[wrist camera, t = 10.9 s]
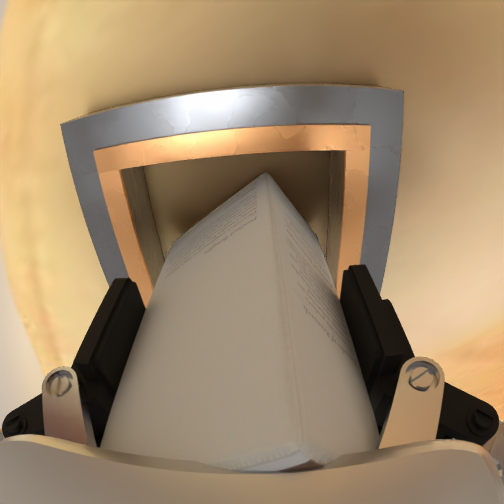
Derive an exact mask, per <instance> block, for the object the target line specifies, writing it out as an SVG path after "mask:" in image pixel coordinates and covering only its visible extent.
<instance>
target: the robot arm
mask: <svg viewBox="0 0 504 504" xmlns="http://www.w3.org/2000/svg"><path fill="white" fill-rule="evenodd" d="M340 303H341V306H342V310H343V313H344V316H345V319H346V322H347V325H348V329H349V332H350V335H351V338H352V341H353V345H354V348H355V351H356V354H357V358H358V361H359V365H360V368H361V372H362V375H363V379H364V382H365V385H366V389H367V392H368V395H369V399H370V402H371V405H372V409H373V412H374V416H375V420H376V423H377V427H378V432H379V436H380V437H379V440H378V443H377V446H376V449H375V450H371V451H365V452H359V453H352V454H346V455H341V456H340V457H339V458H337V459H336V460H334V461H332V462H330V463H328V464H326V465H324V466H321V467H317V468H309V469H299V470H288V471H273V472H242V471H233V470H227V469H223V468H219V467H214V466H210V465H206V464H203V463H200V462H198V461H190V460H178V459H168V458H159V457H151V456H144V455H137V454H130V453H124V452H119V451H113V450H108V449H103V448H100V445H101V442H102V438H103V435H104V431H105V428H106V424H107V421H108V418H109V414H110V411H111V408H112V405H113V402H114V398H115V395H116V392H117V389H118V386H119V384H120V381H121V378H122V374H123V371H124V369H125V366H126V363H127V360H128V357H129V354H130V351H131V349H132V346H133V343H134V340H135V337H136V335H137V332H138V329H139V327H140V324H141V321H142V318H143V316H144V313H145V310H146V308H145V305H144V303H143V300H142V297H141V295H140V292H139V289H138V286H137V284H136V282H134V281H133V282H132V280H131V279H130V278H116V279H114V280H113V282H112V284H111V286H110V288H109V290H108V292H107V293H106V295H105V297H104V299H103V301H102V303H101V305H100V307H99V309H98V311H97V313H96V315H95V317H94V319H93V321H92V323H91V325H90V327H89V329H88V331H87V333H86V335H85V337H84V340H83V342H82V344H81V346H80V348H79V350H78V353H77V355H76V357H75V359H74V361H73V365H72V367H71V368H69V367H64V366H63V367H58V368H56V369H53V370H52V371H51V372H49V373H48V374H47V376H46V377H45V379H44V381H43V384H42V393H41V394H40V395H38V396H37V397H35V398H33V399H31V400H30V401H28V402H27V403H25V404H23V405H21V406H20V407H18V408H16V409H15V410H13V411H12V412H10V413H9V414H8V415H7V416H6V418H5V419H4V421H3V425H2V429H1V428H0V504H504V421H503V422H501V421H499V417H498V414H497V412H496V410H495V409H494V408H493V406H491V405H490V404H488V403H486V402H484V401H482V400H480V399H478V398H476V397H474V396H472V395H470V394H468V393H466V392H464V391H462V390H460V389H458V388H456V387H454V386H452V385H450V384H448V383H446V382H445V377H444V372H443V370H442V368H441V367H440V365H439V364H438V363H436V362H435V361H434V360H432V359H429V358H427V357H415V356H414V353H413V351H412V349H411V346H410V344H409V341H408V339H407V337H406V334H405V332H404V330H403V328H402V325H401V323H400V321H399V319H398V316H397V314H396V312H395V310H394V308H393V306H392V304H391V302H390V300H388V299H385V300H382V299H381V296H380V294H379V292H378V290H377V288H376V285H375V283H374V281H373V279H372V277H371V275H370V273H369V270H368V268H367V266H366V265H365V264H361V265H350V266H349V267H348V270H344V271H343V277H342V285H341V293H340Z"/></svg>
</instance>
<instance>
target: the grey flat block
mask: <svg viewBox="0 0 504 504" xmlns="http://www.w3.org/2000/svg"><path fill="white" fill-rule="evenodd" d="M403 93H404V91H401V90H396V89H391V88H386V87H381V86H368V85H352V84H320V83H301V84H269V85H252V86H239V87H229V88H219V89H210V90H202V91H195V92H188V93H181V94H175V95H169V96H163V97H158V98H153V99H148V100H143V101H138V102H133V103H129V104H124V105H120V106H116V107H112V108H108V109H104V110H100V111H96V112H93V113H89V114H86V115H83V116H80V117H78V118H75V119H72V120H70V121H67V122H65V123H62V124H60V125H61V130H62V135H63V139H64V144H65V148H66V153H67V157H68V161H69V165H70V169H71V173H72V177H73V180H74V184H75V188H76V191H77V195H78V198H79V202H80V205H81V208H82V212H83V215H84V218H85V221H86V224H87V227H88V230H89V233H90V236H91V239H92V242H93V245H94V248H95V250H96V253H97V256H98V259H99V261H100V264H101V267H102V269H103V272H104V274H105V277H106V280H107V282H108V285H109V287H110V286H111V284H112V282H113V280H114V279H116V278H130V279H131V280H132V282H133V281H134V282H136V284H137V286H138V289H139V292H140V295H141V297H142V300H143V303H144V305H145V308H146V307H147V305H148V302H149V300H150V297H151V295H152V292H153V290H154V287H155V284H156V282H157V279H158V277H159V275H160V272H161V270H162V267H163V265H164V263H165V261H164V257H163V253H162V249H161V245H160V242H159V238H158V234H157V230H156V225H155V221H154V217H153V213H152V208H151V204H150V200H149V195H148V191H147V186H146V181H145V176H144V171H143V167H142V166H144V165H151V164H158V163H165V162H173V161H180V160H189V159H197V158H207V157H217V156H227V155H239V154H252V153H268V152H286V151H314V150H330V186H329V216H328V237H327V254H326V263H327V266H328V268H329V271H330V274H331V277H332V280H333V283H334V285H335V288H336V291H337V295H338V298H339V300H340V293H341V285H342V277H343V271H344V270H348V267H349V266H350V265H361V264H365V265H366V266H367V268H368V270H369V273H370V275H371V277H372V279H373V281H374V283H375V285H376V288H377V290H378V292H379V294H380V291H381V286H382V282H383V277H384V272H385V267H386V262H387V256H388V251H389V245H390V239H391V233H392V226H393V220H394V213H395V205H396V197H397V189H398V180H399V169H400V158H401V145H402V127H403Z"/></svg>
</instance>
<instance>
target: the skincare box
mask: <svg viewBox="0 0 504 504" xmlns="http://www.w3.org/2000/svg"><path fill="white" fill-rule="evenodd" d="M379 437H380V436H379V432H378V427H377V423H376V420H375V416H374V412H373V409H372V405H371V402H370V399H369V395H368V392H367V389H366V385H365V382H364V379H363V375H362V372H361V368H360V365H359V361H358V358H357V354H356V351H355V348H354V345H353V341H352V338H351V335H350V332H349V329H348V325H347V322H346V319H345V316H344V313H343V310H342V306H341V303H340V300H339V298H338V295H337V291H336V288H335V285H334V283H333V280H332V277H331V274H330V271H329V268H328V266H327V263H326V260H325V257H324V254H323V252H322V249H321V246H320V244H319V241H318V238H317V235H316V234H315V233H314V232H313V231H312V229H311V228H310V227H309V225H308V224H307V223H306V221H305V220H304V219H303V218H302V216H301V215H300V214H299V212H298V211H297V210H296V208H295V207H294V206H293V204H292V203H291V202H290V201H289V199H288V198H287V197H286V195H285V194H284V193H283V191H282V190H281V189H280V187H279V186H278V185H277V184H276V182H275V181H274V180H273V178H272V177H271V176H270V174H268V173H263V174H261V175H260V176H259V177H257V178H256V179H255V180H253V181H252V182H251V183H249V184H248V185H247V186H245V187H244V188H243V189H241V190H240V191H239V192H237V193H236V194H234V195H233V196H232V197H230V198H229V199H228V200H227V201H225V202H224V203H223V204H221V205H220V206H219V207H217V208H216V209H215V210H213V211H212V212H211V213H209V214H208V215H207V216H206V217H204V218H203V219H202V220H200V221H199V222H198V223H197V224H195V225H194V226H193V227H191V228H190V229H189V230H188V231H186V232H185V233H184V234H182V235H181V236H180V237H179V238H177V239H176V240H175V241H174V242H173V244H172V246H171V248H170V251H169V253H168V255H167V258H166V260H165V263H164V265H163V267H162V270H161V272H160V275H159V277H158V279H157V282H156V284H155V287H154V290H153V292H152V295H151V297H150V300H149V302H148V305H147V307H146V310H145V313H144V316H143V318H142V321H141V324H140V327H139V329H138V332H137V335H136V337H135V340H134V343H133V346H132V349H131V351H130V354H129V357H128V360H127V363H126V366H125V369H124V371H123V374H122V378H121V381H120V384H119V386H118V389H117V392H116V395H115V398H114V402H113V405H112V408H111V411H110V414H109V418H108V421H107V424H106V428H105V431H104V435H103V438H102V442H101V445H100V448H103V449H108V450H113V451H119V452H124V453H130V454H137V455H144V456H151V457H159V458H168V459H178V460H190V461H198V462H200V463H203V464H206V465H210V466H214V467H219V468H223V469H227V470H233V471H242V472H273V471H288V470H299V469H309V468H317V467H321V466H324V465H326V464H328V463H330V462H332V461H334V460H336V459H337V458H339V457H340V456H341V455H346V454H352V453H359V452H365V451H371V450H375V449H376V446H377V443H378V440H379Z"/></svg>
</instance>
